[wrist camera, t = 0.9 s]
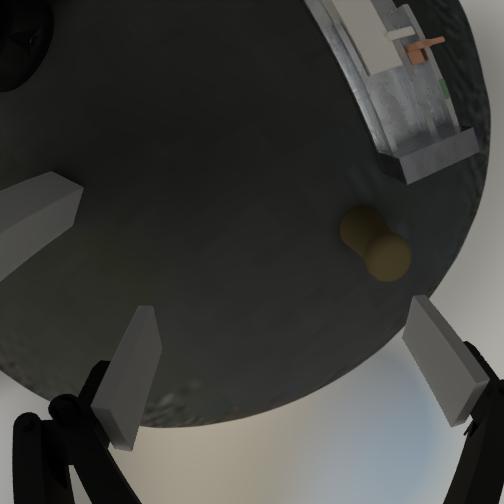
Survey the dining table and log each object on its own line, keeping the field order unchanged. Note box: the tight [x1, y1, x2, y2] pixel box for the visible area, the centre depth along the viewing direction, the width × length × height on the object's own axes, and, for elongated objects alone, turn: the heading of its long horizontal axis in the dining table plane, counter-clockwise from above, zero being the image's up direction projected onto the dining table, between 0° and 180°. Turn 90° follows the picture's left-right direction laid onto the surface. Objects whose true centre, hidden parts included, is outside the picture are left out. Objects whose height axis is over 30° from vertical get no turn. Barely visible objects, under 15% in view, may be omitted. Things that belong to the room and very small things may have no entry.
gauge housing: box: [301, 0, 480, 185], centre depth 29 cm, size 26×11×7 cm, turn 26°
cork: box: [340, 206, 412, 282], centre depth 35 cm, size 6×6×11 cm
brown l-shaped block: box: [404, 37, 445, 65], centre depth 28 cm, size 2×4×5 cm, turn 116°
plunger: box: [321, 0, 415, 76], centre depth 27 cm, size 14×7×5 cm, turn 26°
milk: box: [0, 171, 84, 281], centre depth 28 cm, size 6×6×22 cm
